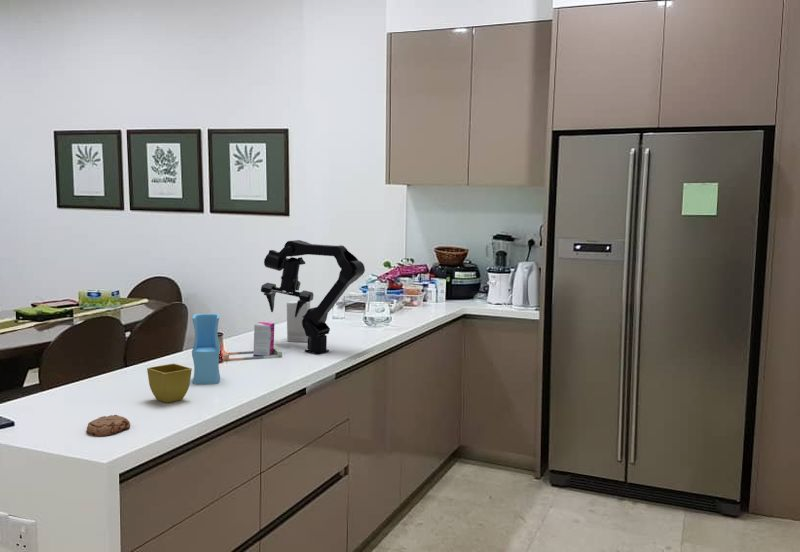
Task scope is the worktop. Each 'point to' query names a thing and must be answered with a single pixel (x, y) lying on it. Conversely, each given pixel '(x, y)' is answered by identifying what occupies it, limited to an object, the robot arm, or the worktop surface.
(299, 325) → the skincare box
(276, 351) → the breaker track
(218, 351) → the light blue tall piece
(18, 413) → the worktop surface
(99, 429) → the cookie
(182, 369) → the flower pot
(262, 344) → the supplement box
